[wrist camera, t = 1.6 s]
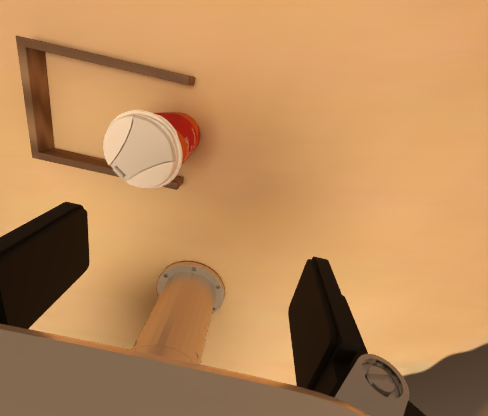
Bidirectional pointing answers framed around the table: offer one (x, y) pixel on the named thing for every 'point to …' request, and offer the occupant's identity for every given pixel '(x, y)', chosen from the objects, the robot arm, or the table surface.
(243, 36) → the table surface
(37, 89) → the u rest
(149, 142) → the paper cup
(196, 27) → the table surface
